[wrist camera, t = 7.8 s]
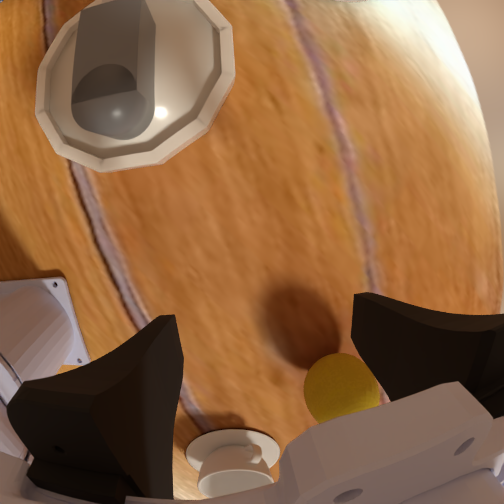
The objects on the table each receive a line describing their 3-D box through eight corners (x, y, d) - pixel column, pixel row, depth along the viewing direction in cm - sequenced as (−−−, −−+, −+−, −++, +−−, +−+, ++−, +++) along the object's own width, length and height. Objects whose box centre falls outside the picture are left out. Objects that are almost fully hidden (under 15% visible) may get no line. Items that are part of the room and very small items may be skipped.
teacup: (252, 481, 28) (257, 510, 24) (174, 463, 26) (171, 495, 22) (296, 436, 27) (306, 469, 22) (206, 414, 25) (206, 451, 20)
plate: (51, 184, 18) (37, 186, 16) (57, 23, 14) (46, 14, 12) (239, 156, 19) (241, 154, 17) (227, -13, 16) (228, -27, 14)
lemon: (282, 359, 24) (306, 429, 16) (340, 323, 23) (384, 382, 16) (311, 396, 25) (337, 460, 17) (362, 364, 25) (402, 421, 17)
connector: (101, 144, 17) (70, 138, 13) (107, 13, 14) (86, -15, 10) (155, 135, 17) (137, 125, 13) (157, 2, 14) (145, -31, 10)
